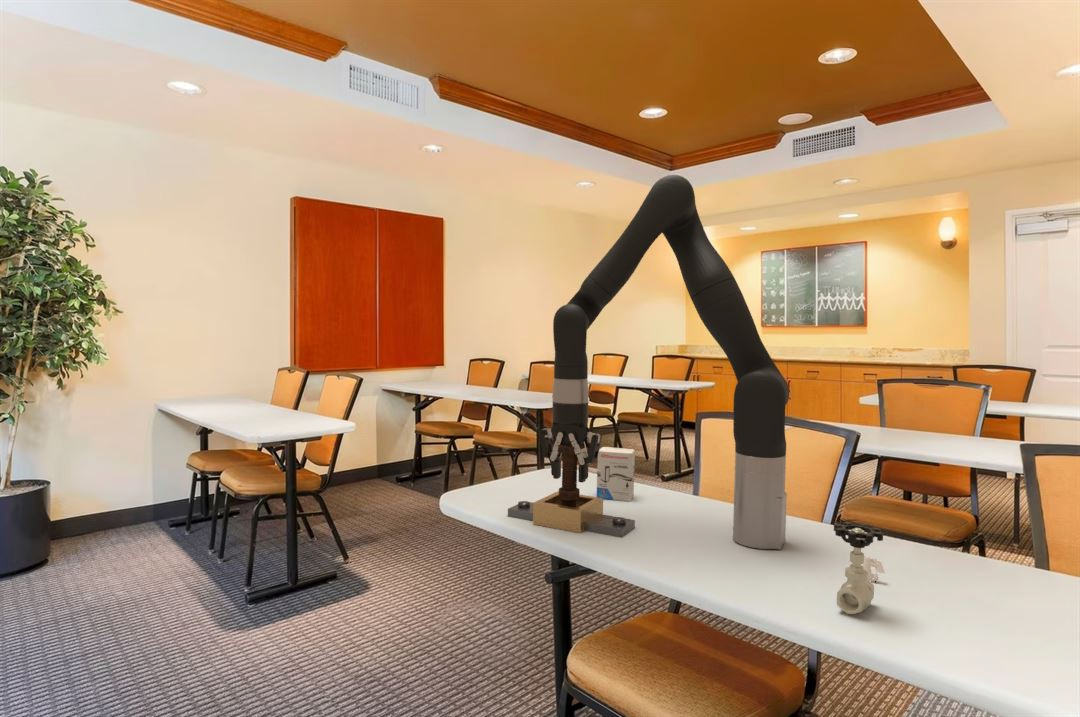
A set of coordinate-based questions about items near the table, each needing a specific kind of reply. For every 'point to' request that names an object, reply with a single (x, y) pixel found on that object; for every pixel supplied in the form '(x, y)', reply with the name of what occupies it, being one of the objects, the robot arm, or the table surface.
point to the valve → (856, 568)
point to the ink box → (615, 473)
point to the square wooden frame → (566, 512)
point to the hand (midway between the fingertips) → (569, 479)
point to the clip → (873, 562)
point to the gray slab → (522, 510)
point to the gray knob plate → (610, 525)
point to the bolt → (569, 476)
